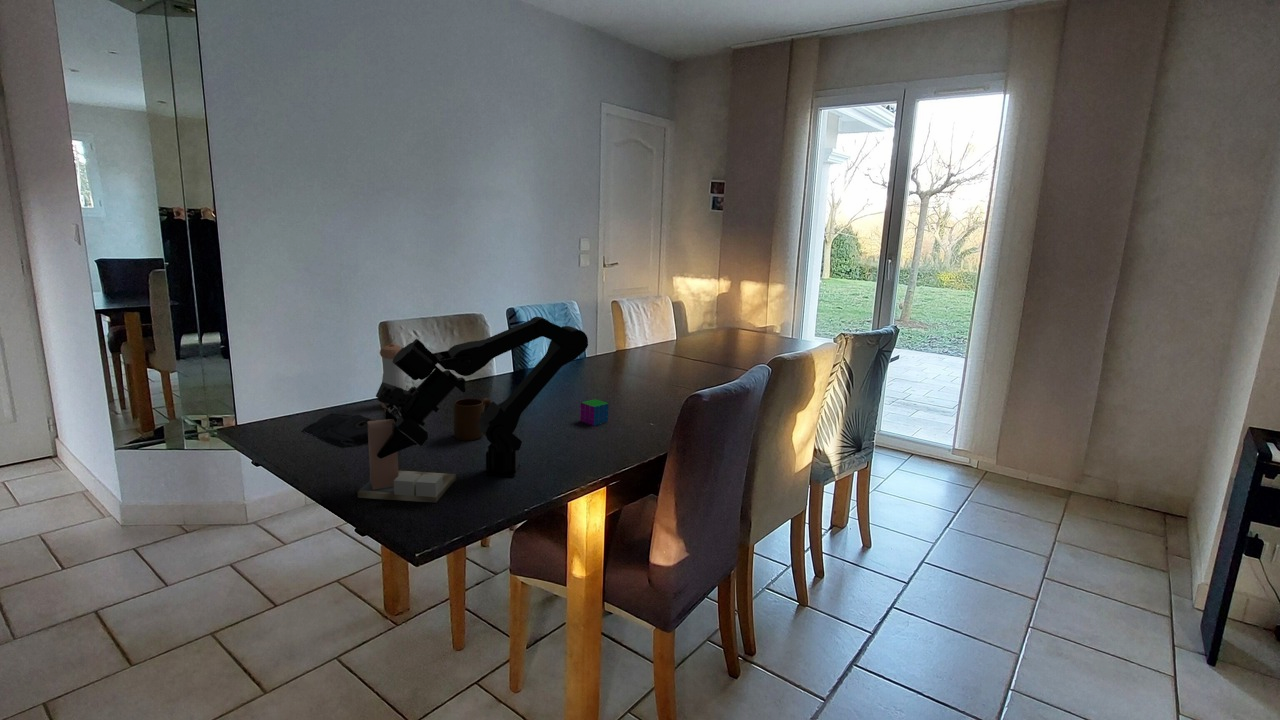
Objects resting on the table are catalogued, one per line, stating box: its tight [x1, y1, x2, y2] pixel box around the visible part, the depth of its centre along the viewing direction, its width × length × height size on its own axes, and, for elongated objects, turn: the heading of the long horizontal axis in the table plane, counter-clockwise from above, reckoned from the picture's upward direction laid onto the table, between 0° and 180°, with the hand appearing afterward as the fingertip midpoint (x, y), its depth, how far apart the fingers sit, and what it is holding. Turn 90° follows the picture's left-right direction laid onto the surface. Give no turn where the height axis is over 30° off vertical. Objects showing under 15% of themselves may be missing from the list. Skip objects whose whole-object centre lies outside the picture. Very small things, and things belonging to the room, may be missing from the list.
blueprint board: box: [357, 470, 457, 503], centre depth 132 cm, size 16×12×1 cm
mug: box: [453, 397, 492, 441], centre depth 166 cm, size 12×8×9 cm, turn 152°
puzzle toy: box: [579, 398, 610, 426], centre depth 182 cm, size 6×6×6 cm
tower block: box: [367, 419, 399, 490], centre depth 129 cm, size 5×5×13 cm
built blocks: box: [394, 473, 443, 497], centre depth 127 cm, size 8×4×3 cm, turn 87°
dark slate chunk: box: [302, 412, 376, 449], centre depth 163 cm, size 15×22×5 cm
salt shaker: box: [379, 342, 407, 410], centre depth 186 cm, size 7×7×19 cm
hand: (375, 450), depth 128 cm, fingers open, 7 cm apart
